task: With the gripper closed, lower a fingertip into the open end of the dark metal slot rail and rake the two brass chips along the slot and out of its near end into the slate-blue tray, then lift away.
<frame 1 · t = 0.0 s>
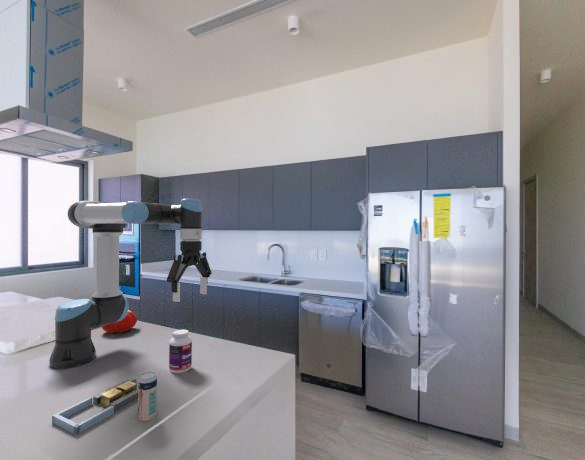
hand: (190, 297, 111), 28 cm above the counter, fingers open, 13 cm apart
pill bottle: (180, 370, 113), on the counter
chip tray: (85, 418, 84), on the counter
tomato: (119, 331, 154), on the counter
beer can: (147, 418, 85), on the counter
brass chip near: (111, 402, 91), point 1 cm above the counter, touching slot rail
slot rail: (124, 398, 94), on the counter
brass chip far: (127, 394, 95), point 1 cm above the counter, touching slot rail
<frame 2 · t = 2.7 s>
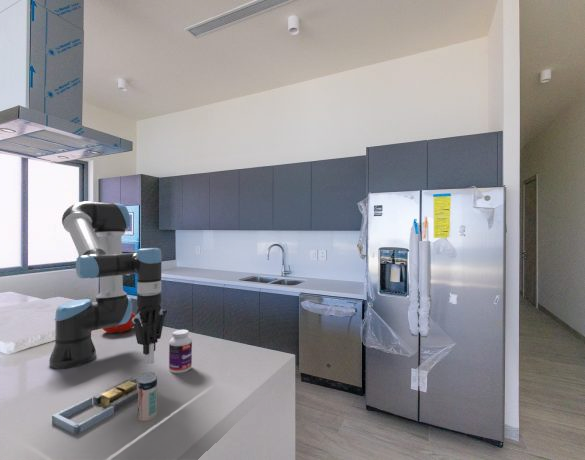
hand: (149, 362, 102), 8 cm above the counter, fingers closed
nothing on the counter moved.
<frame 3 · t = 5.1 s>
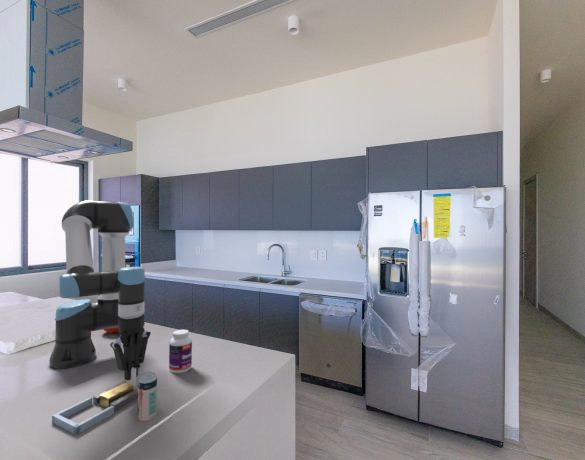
hand: (131, 388, 96), 2 cm above the counter, fingers closed
brass chip near: (110, 403, 90), point 1 cm above the counter, touching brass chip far
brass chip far: (123, 396, 94), point 1 cm above the counter, touching brass chip near, gripper
everything else where it was.
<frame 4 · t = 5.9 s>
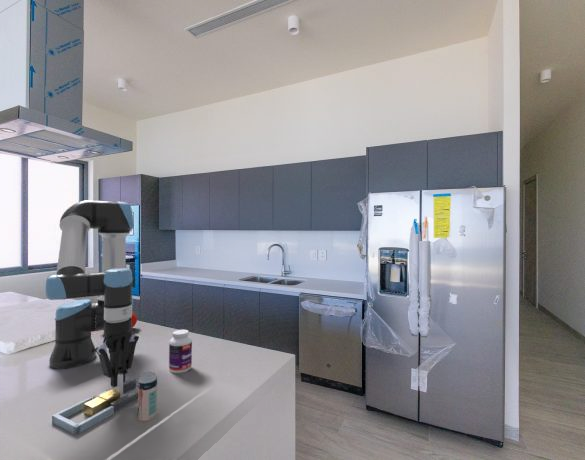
hand: (117, 395, 92), 2 cm above the counter, fingers closed
brass chip near: (95, 412, 86), resting on chip tray, touching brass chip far
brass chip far: (109, 404, 90), point 1 cm above the counter, touching brass chip near, gripper, slot rail
everything else where it was.
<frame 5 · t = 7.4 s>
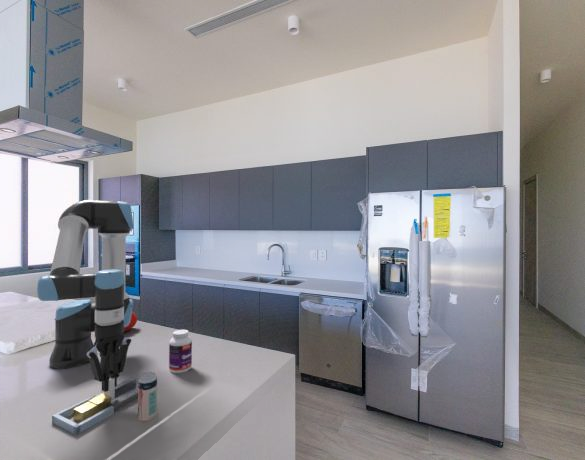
hand: (109, 399, 90), 2 cm above the counter, fingers closed
brass chip near: (85, 417, 84), resting on chip tray, touching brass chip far
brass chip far: (100, 409, 87), point 1 cm above the counter, touching brass chip near, slot rail
everything else where it was.
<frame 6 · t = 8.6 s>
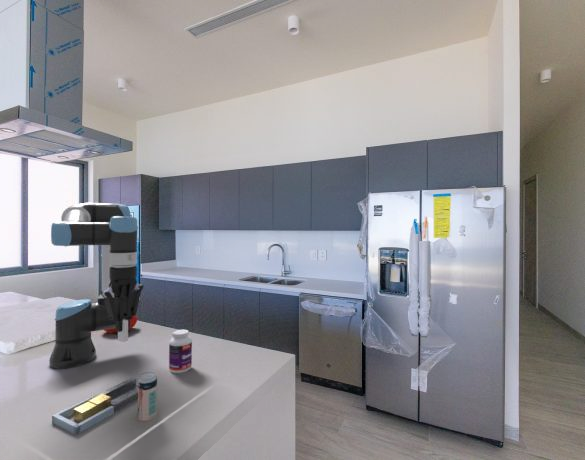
hand: (122, 340, 94), 18 cm above the counter, fingers closed
nothing on the counter moved.
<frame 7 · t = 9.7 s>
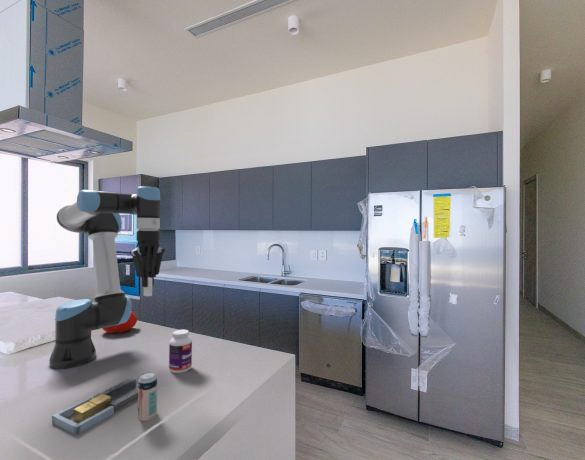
hand: (147, 295, 107), 29 cm above the counter, fingers closed
nothing on the counter moved.
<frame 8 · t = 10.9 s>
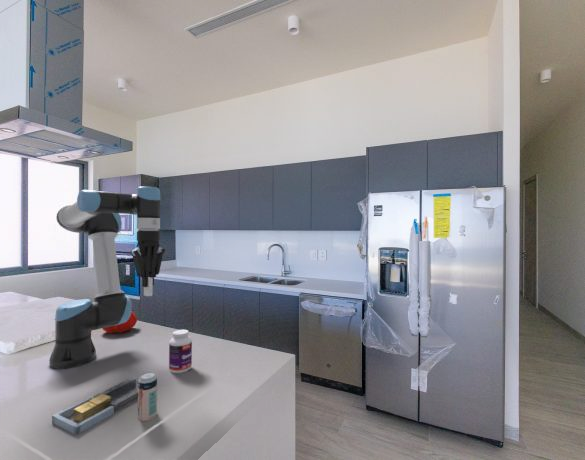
hand: (148, 295, 108), 29 cm above the counter, fingers closed
nothing on the counter moved.
at the end: brass chip near inside the target area (0.3 cm from its centre), resting on chip tray; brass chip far inside the target area (4.3 cm from its centre), point 0.6 cm above the counter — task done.
